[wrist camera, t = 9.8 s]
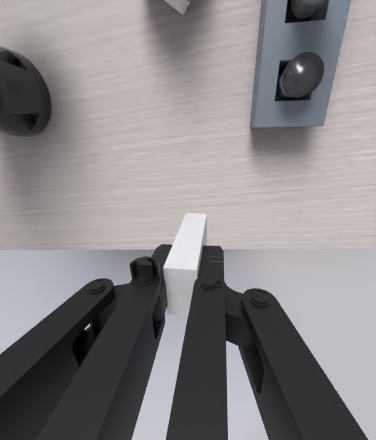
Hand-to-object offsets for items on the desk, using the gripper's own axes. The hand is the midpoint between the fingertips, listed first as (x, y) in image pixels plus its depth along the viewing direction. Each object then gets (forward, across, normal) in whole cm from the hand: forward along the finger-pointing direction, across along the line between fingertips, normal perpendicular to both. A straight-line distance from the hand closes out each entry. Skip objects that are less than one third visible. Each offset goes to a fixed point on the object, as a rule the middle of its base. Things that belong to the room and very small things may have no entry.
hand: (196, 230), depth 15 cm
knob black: (+28, +12, +13) cm, 33 cm away
